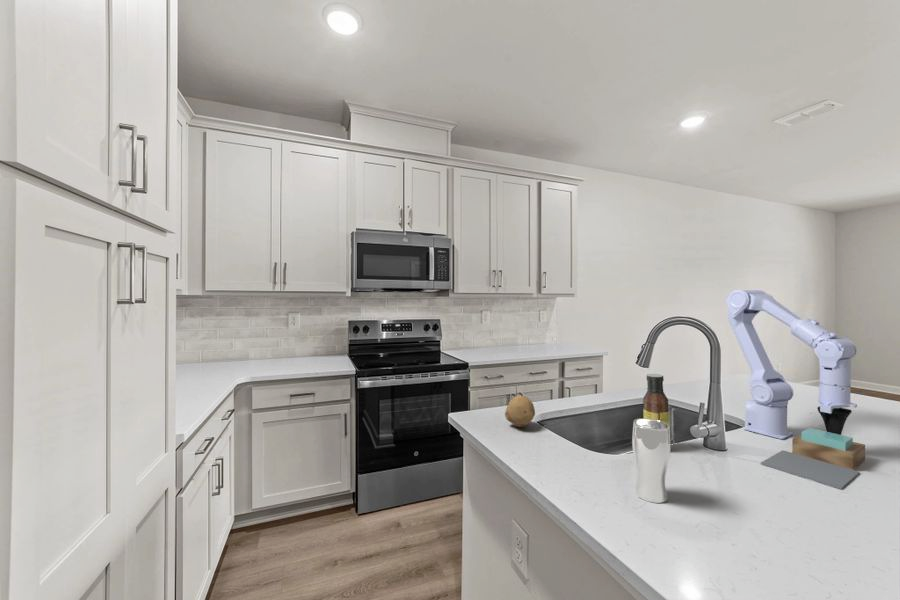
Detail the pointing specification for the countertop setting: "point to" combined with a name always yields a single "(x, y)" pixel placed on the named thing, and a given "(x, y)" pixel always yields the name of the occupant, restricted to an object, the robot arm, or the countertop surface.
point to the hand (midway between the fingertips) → (833, 435)
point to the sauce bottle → (656, 400)
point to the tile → (827, 439)
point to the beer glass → (651, 458)
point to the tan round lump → (520, 411)
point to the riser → (830, 453)
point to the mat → (811, 469)
